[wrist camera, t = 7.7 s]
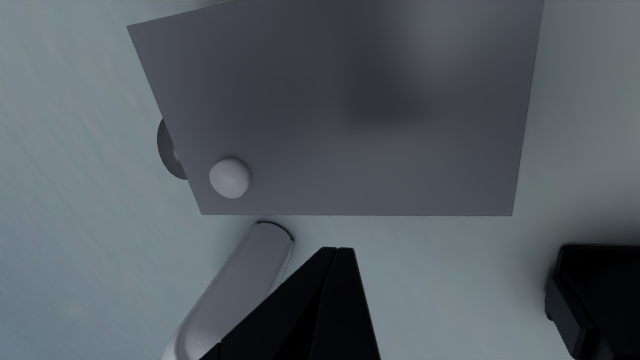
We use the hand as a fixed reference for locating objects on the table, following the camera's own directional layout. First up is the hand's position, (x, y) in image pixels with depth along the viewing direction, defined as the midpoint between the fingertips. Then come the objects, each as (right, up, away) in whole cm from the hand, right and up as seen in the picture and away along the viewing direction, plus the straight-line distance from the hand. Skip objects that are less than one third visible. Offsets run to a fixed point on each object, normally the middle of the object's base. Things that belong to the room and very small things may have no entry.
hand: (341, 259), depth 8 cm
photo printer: (-6, -5, +19) cm, 20 cm away
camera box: (+1, +7, +10) cm, 12 cm away
